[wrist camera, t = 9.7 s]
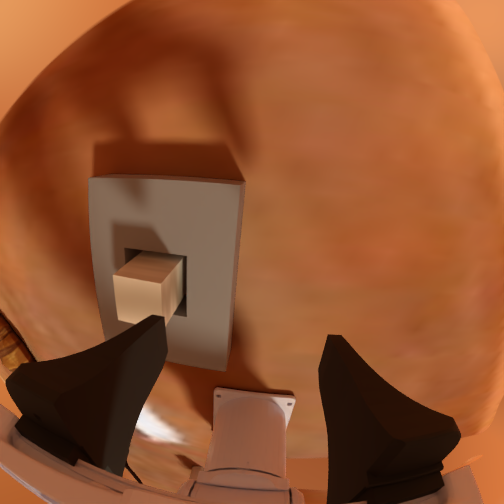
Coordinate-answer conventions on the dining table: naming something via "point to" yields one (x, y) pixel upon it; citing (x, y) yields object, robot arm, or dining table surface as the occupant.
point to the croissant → (12, 347)
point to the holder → (173, 242)
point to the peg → (150, 286)
